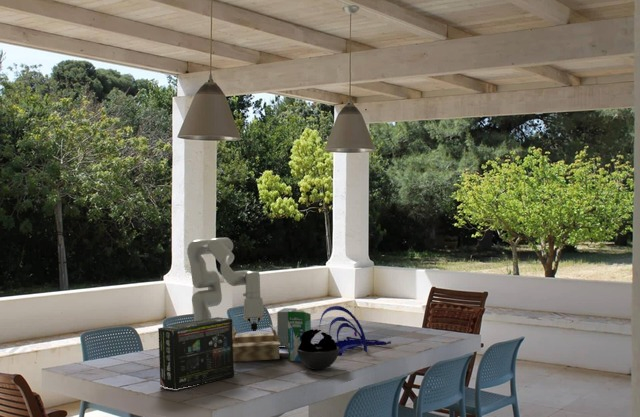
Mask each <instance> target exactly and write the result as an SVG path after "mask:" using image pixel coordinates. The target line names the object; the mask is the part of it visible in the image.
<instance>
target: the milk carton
mask: <svg viewBox="0 0 640 417" xmlns="http://www.w3.org/2000/svg"><path fill="white" fill-rule="evenodd" d="M311 315H312V314H311V313H309V312H305V310H303V309H300V310H299V309H297V312H290V311H288V348H287V350H288V362H302V361H301V360H300V358H299V356H298V352H297V348H298V347H299V345H300V344H301V336H302V335H303V333H304V332H305V331H308V330H311V329H312V323H311V322H312V321H311Z"/></svg>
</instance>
